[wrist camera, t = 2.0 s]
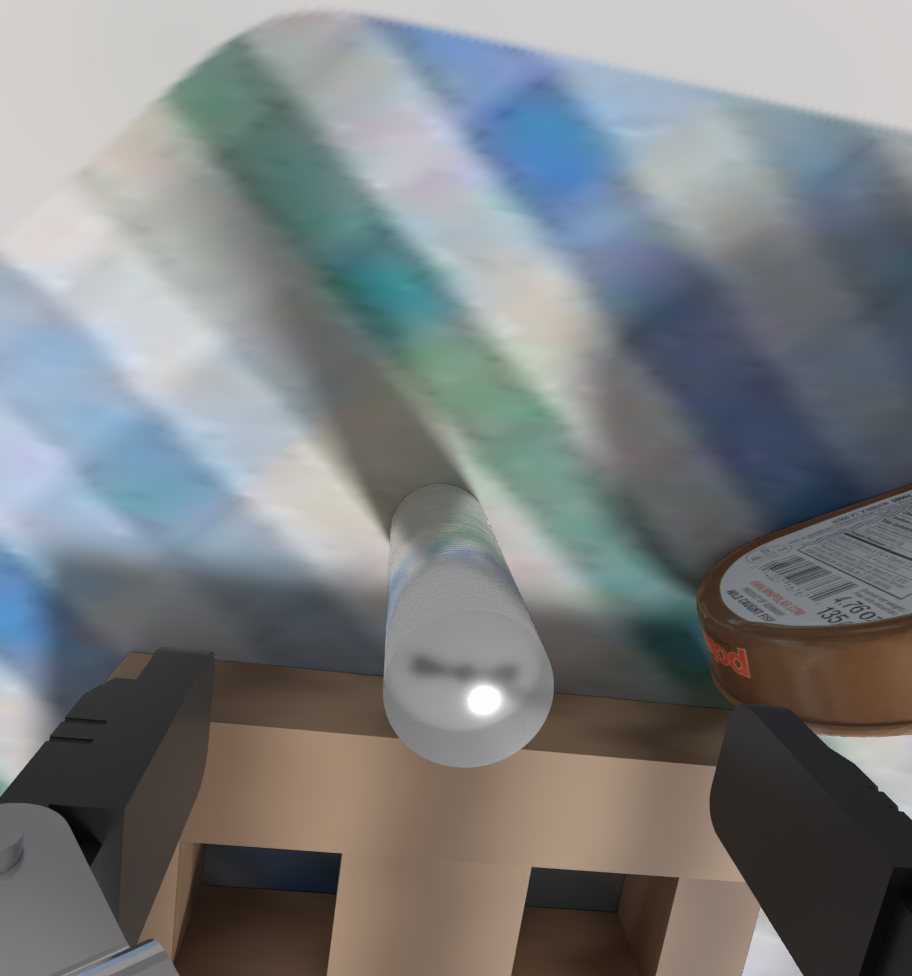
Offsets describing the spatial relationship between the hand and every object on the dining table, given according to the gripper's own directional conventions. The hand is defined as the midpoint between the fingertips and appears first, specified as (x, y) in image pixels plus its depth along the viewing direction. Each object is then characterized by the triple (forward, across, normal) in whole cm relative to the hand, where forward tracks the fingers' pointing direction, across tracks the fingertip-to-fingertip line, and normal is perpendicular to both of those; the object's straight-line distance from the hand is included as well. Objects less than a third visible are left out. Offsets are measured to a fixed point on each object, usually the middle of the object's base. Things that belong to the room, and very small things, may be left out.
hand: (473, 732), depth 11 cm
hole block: (+12, -1, +11) cm, 16 cm away
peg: (+12, 0, 0) cm, 12 cm away
